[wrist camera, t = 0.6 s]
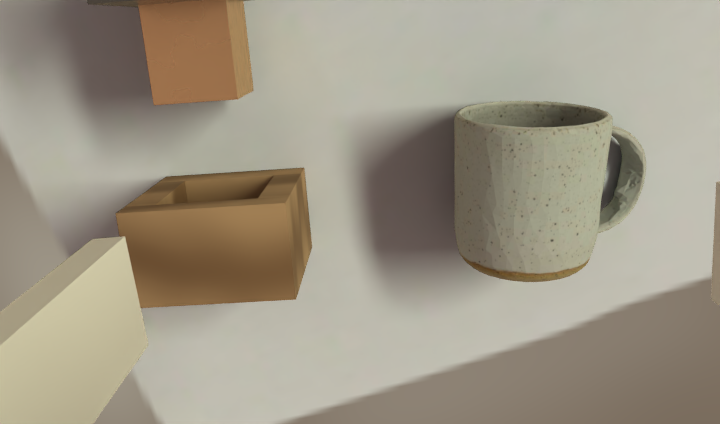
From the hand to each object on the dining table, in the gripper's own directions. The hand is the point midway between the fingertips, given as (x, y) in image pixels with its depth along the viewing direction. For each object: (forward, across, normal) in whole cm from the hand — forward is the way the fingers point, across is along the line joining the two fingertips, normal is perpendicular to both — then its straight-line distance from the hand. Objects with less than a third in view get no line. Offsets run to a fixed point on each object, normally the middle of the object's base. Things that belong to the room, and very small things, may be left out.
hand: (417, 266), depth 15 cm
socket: (+23, -10, -5) cm, 26 cm away
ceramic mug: (+24, +8, -4) cm, 25 cm away
